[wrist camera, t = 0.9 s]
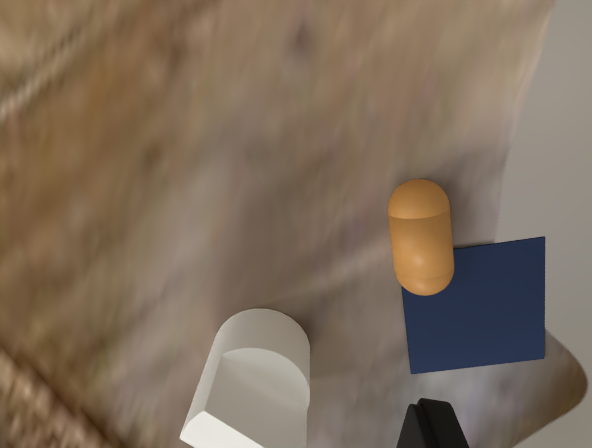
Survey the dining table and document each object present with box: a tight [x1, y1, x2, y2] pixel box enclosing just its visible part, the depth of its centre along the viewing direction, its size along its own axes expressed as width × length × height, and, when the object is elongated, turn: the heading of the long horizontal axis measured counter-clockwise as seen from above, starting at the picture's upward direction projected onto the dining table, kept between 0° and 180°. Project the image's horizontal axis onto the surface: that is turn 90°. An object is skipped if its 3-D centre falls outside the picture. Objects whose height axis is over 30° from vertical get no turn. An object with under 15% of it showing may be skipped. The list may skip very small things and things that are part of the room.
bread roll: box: [388, 179, 454, 296], centre depth 35 cm, size 9×5×5 cm, turn 10°
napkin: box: [402, 237, 545, 374], centre depth 40 cm, size 12×12×1 cm
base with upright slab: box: [180, 308, 310, 448], centre depth 36 cm, size 9×9×12 cm
